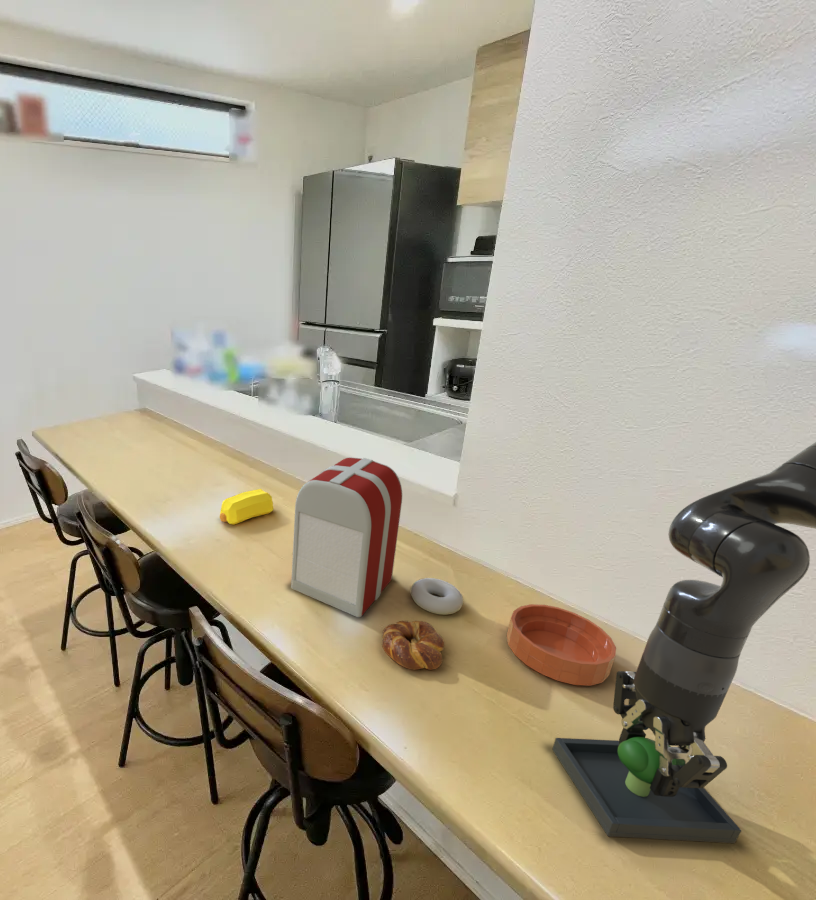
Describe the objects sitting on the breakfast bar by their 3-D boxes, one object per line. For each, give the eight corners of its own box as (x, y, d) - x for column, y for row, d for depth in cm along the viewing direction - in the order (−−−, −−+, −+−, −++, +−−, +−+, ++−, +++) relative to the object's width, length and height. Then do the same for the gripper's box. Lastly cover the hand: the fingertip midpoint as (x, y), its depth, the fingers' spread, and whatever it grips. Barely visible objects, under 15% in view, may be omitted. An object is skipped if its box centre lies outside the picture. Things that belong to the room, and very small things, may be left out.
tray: (658, 754, 70) (663, 742, 69) (735, 843, 59) (741, 830, 58) (551, 749, 71) (555, 737, 70) (607, 836, 60) (612, 823, 59)
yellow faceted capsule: (280, 512, 140) (263, 502, 147) (281, 491, 138) (264, 482, 144) (228, 530, 131) (212, 518, 137) (228, 507, 129) (212, 497, 135)
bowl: (572, 627, 95) (579, 605, 93) (630, 690, 80) (639, 665, 79) (491, 624, 95) (496, 603, 94) (534, 686, 81) (540, 662, 80)
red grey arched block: (393, 578, 110) (408, 466, 101) (360, 618, 97) (374, 494, 88) (326, 553, 120) (334, 449, 111) (288, 587, 107) (294, 473, 98)
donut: (406, 585, 108) (412, 614, 98) (408, 572, 107) (414, 599, 97) (456, 592, 105) (466, 621, 96) (458, 578, 104) (469, 606, 95)
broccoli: (648, 770, 67) (665, 728, 64) (680, 809, 62) (700, 766, 59) (596, 768, 67) (610, 726, 64) (623, 807, 62) (640, 763, 60)
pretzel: (396, 619, 97) (398, 604, 96) (454, 645, 90) (457, 629, 89) (369, 653, 89) (371, 636, 87) (431, 684, 82) (434, 667, 80)
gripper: (781, 721, 51) (724, 832, 56) (669, 627, 64) (632, 725, 70) (704, 718, 51) (656, 829, 57) (609, 625, 65) (577, 722, 70)
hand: (643, 771), depth 63 cm, fingers closed on broccoli, 5 cm apart
